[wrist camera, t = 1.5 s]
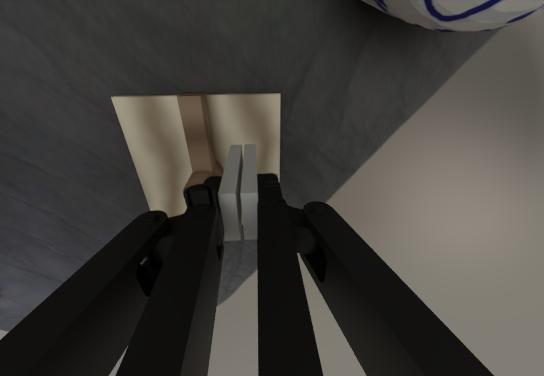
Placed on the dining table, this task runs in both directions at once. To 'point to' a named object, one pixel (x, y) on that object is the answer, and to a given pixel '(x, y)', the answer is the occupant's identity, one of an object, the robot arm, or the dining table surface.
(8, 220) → the dining table surface
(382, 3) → the vase
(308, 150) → the dining table surface
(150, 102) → the cream flat square slab
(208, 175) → the wooden mallet
